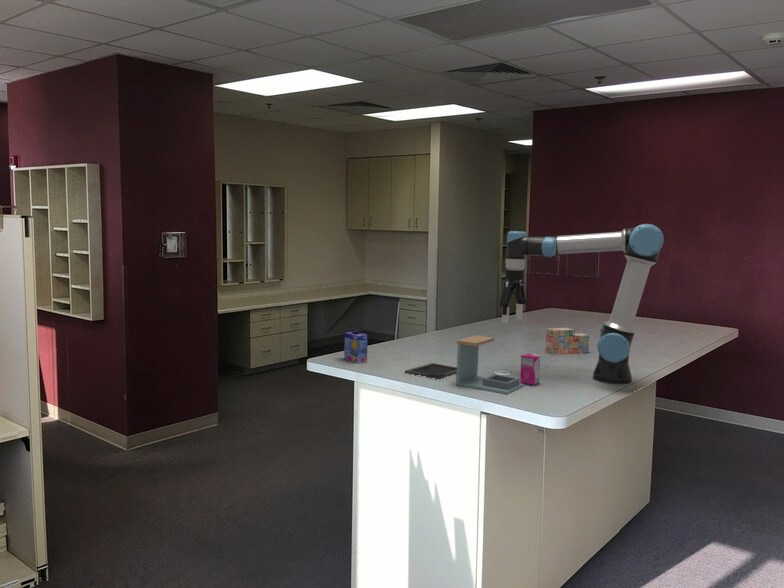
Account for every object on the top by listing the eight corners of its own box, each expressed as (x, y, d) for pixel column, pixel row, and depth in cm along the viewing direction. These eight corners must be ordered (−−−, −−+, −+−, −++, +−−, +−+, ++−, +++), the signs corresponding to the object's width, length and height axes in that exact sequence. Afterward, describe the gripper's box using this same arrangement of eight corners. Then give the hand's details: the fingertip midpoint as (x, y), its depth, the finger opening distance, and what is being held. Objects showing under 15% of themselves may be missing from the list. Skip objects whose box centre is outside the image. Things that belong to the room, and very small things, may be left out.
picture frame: (438, 381, 260) (464, 372, 277) (438, 376, 259) (464, 367, 276) (404, 374, 269) (431, 366, 286) (404, 369, 268) (432, 361, 286)
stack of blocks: (580, 351, 335) (582, 327, 334) (588, 353, 329) (590, 329, 328) (545, 352, 327) (546, 328, 326) (552, 355, 321) (554, 330, 320)
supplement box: (526, 381, 263) (528, 352, 262) (539, 383, 259) (541, 355, 258) (519, 383, 259) (520, 354, 257) (532, 386, 255) (534, 357, 254)
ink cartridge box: (343, 359, 290) (344, 327, 288) (352, 358, 294) (353, 326, 292) (358, 363, 283) (359, 330, 281) (367, 362, 287) (368, 329, 285)
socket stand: (523, 386, 254) (526, 342, 252) (507, 394, 241) (510, 348, 239) (473, 377, 265) (475, 335, 264) (454, 384, 252) (457, 340, 250)
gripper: (518, 267, 280) (516, 317, 282) (492, 269, 260) (490, 323, 262) (535, 268, 276) (532, 319, 278) (510, 271, 255) (507, 325, 258)
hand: (512, 321), depth 270 cm, fingers open, 13 cm apart
